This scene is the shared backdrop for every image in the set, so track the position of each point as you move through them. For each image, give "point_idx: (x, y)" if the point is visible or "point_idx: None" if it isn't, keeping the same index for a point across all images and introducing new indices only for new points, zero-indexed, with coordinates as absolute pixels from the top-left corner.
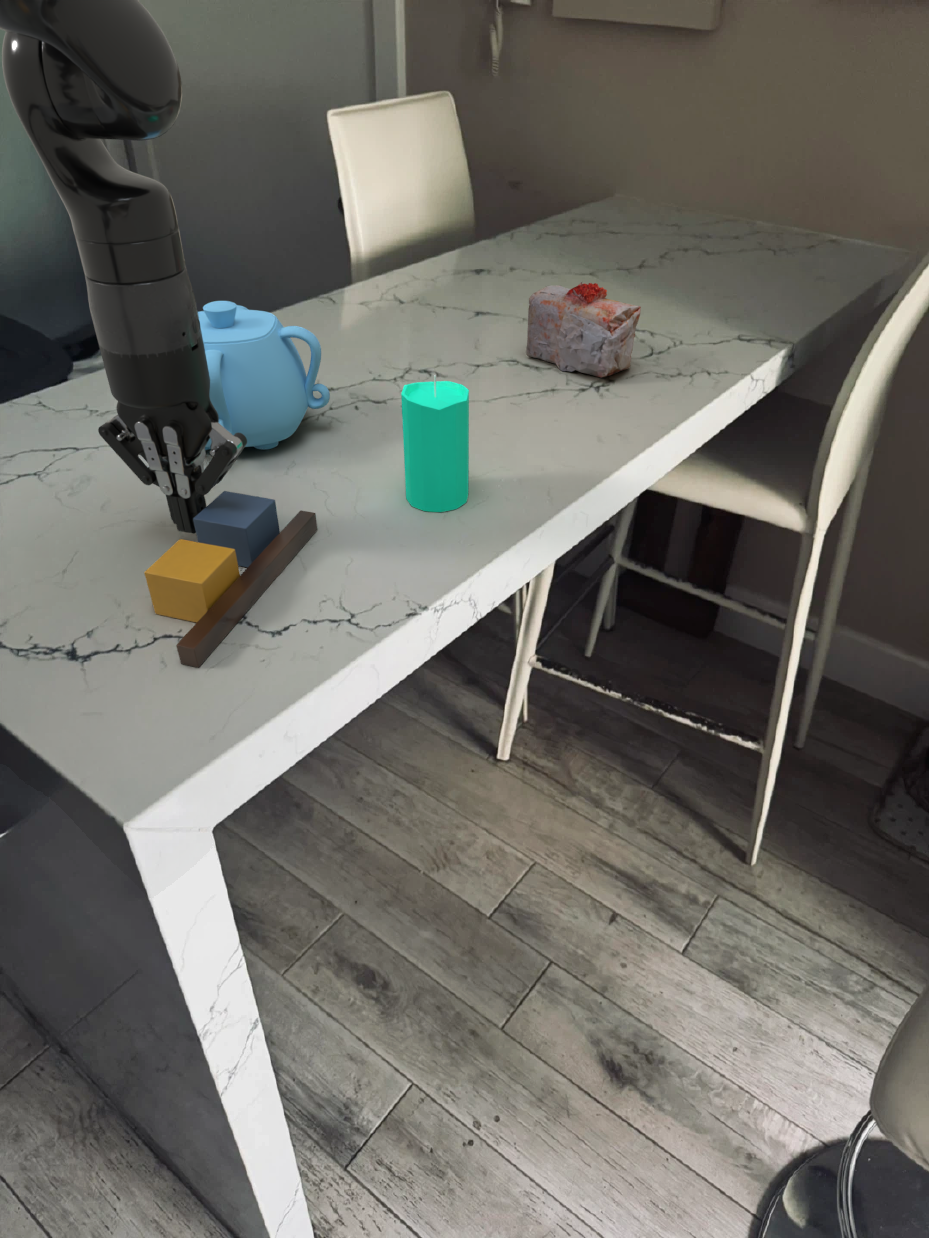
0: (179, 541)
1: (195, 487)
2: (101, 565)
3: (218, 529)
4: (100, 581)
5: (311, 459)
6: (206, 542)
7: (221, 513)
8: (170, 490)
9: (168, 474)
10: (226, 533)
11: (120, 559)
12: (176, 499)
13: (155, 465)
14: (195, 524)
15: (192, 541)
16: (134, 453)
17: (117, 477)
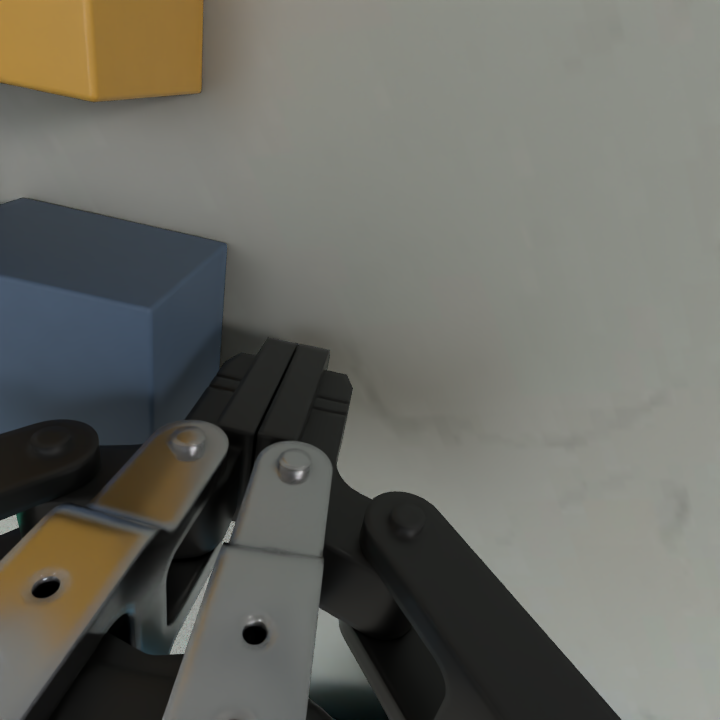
0: (74, 64)
1: (90, 454)
2: (600, 158)
3: (41, 269)
4: (572, 26)
5: None
6: (159, 259)
7: (52, 359)
8: (271, 458)
9: (232, 533)
10: (9, 253)
11: (531, 210)
12: (265, 425)
13: (260, 581)
14: (157, 296)
15: (14, 82)
16: (465, 698)
17: (667, 633)
